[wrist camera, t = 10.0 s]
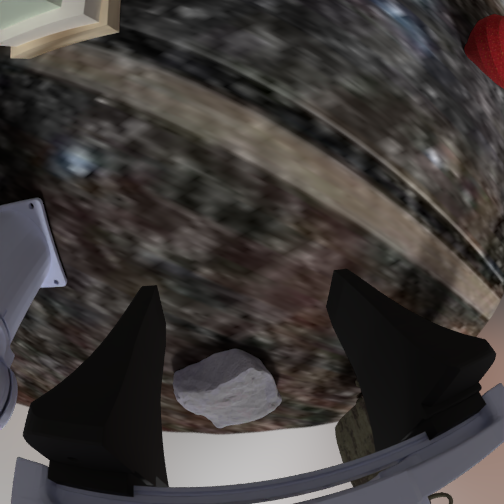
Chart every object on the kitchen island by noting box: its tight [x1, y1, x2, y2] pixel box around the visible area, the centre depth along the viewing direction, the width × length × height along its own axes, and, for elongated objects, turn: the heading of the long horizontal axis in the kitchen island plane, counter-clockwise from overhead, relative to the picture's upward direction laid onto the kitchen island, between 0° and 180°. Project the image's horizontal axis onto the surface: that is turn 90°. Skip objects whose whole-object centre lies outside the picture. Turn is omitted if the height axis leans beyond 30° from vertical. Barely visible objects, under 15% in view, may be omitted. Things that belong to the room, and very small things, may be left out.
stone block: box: [173, 349, 282, 428], centre depth 31 cm, size 12×5×10 cm
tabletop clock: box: [335, 379, 453, 504], centre depth 27 cm, size 14×9×25 cm, turn 156°
